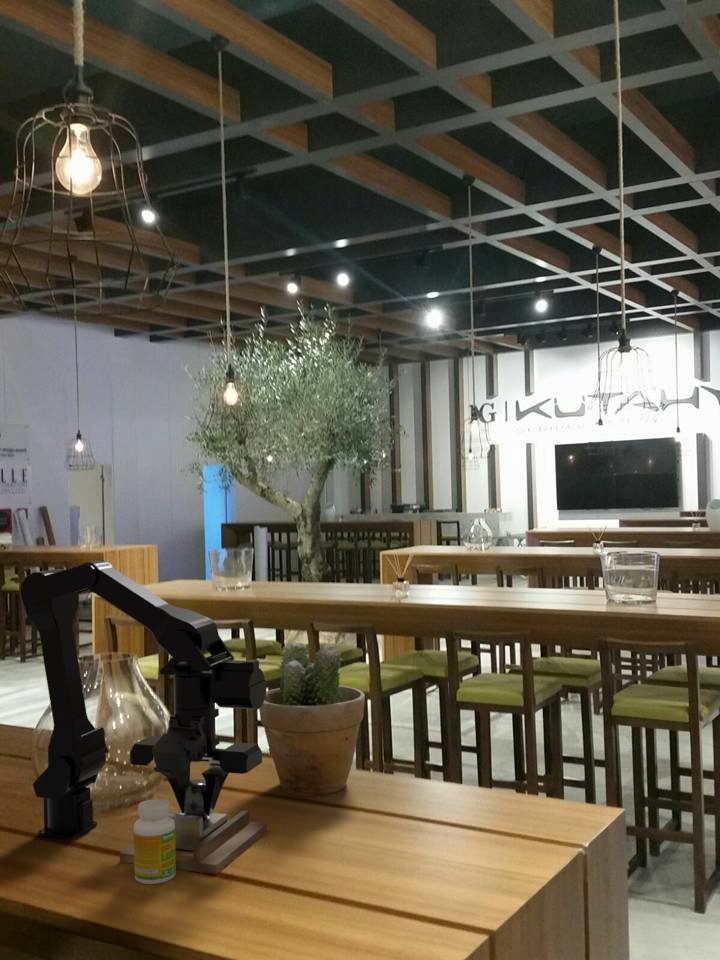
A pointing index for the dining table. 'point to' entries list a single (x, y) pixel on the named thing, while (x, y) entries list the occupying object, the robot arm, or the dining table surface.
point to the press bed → (215, 846)
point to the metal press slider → (195, 817)
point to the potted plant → (312, 722)
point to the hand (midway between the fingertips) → (197, 813)
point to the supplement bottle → (154, 843)
